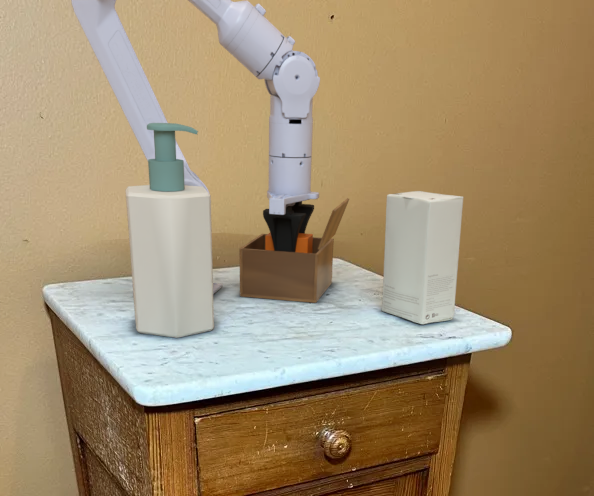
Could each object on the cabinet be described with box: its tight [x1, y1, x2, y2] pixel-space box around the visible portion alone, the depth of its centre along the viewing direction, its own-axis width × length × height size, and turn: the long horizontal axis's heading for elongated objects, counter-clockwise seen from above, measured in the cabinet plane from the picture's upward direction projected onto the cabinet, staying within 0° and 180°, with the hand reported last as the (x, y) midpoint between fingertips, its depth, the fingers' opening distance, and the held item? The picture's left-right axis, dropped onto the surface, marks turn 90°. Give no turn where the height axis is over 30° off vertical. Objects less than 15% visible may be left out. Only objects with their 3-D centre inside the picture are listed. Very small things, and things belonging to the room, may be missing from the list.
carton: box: [239, 233, 335, 304], centre depth 110 cm, size 12×11×6 cm
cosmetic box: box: [381, 190, 465, 325], centre depth 97 cm, size 8×6×15 cm
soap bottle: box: [125, 122, 215, 339], centre depth 88 cm, size 10×9×22 cm
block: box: [265, 232, 314, 253], centre depth 109 cm, size 4×6×5 cm, turn 77°
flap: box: [318, 197, 350, 250], centre depth 105 cm, size 12×5×1 cm
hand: (288, 261), depth 109 cm, fingers closed on block, 3 cm apart
